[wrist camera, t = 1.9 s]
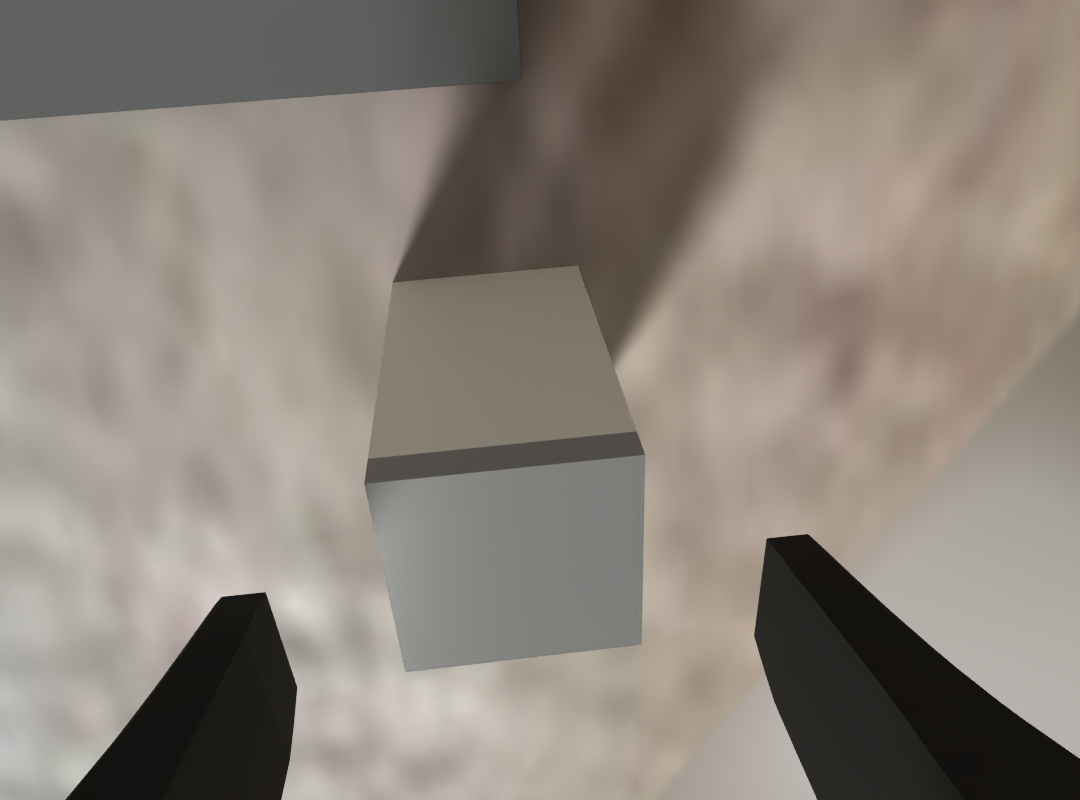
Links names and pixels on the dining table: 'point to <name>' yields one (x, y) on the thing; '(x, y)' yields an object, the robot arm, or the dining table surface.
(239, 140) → the dining table surface
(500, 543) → the plug
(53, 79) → the socket base
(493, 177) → the dining table surface
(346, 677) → the dining table surface
